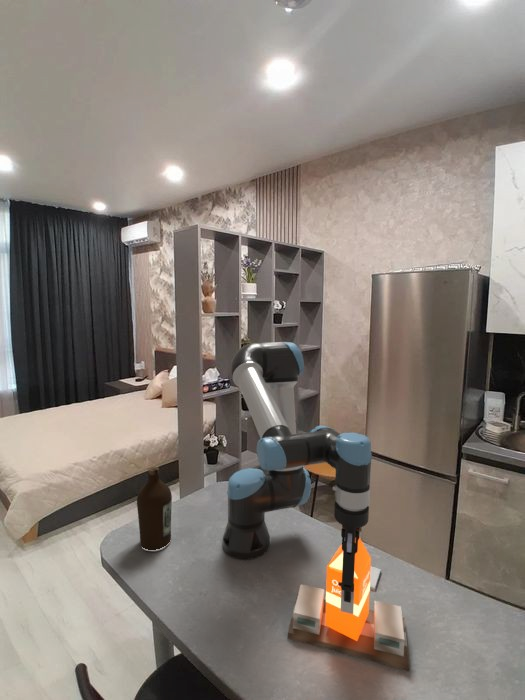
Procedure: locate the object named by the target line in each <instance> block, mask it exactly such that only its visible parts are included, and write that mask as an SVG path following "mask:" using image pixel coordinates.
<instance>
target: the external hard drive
mask: <svg viewBox="0 0 525 700" xmlns="http://www.w3.org/2000/svg"><path fill="white" fill-rule="evenodd" d="M381 573H382V569H381V568H377V567H375V566H372V565H371V570H370V591H373V592H376V589H377V587H378V586H377V585H378V582H379V579H380V575H381Z"/></svg>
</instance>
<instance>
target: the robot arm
mask: <svg viewBox="0 0 525 700" xmlns="http://www.w3.org/2000/svg"><path fill="white" fill-rule="evenodd" d="M304 361H305V360H304V357H303V353H302V351H301V349H300V348H299V346H298V345H297V344H296V343H294V342H291V341H290V342H289V341H288V342H287V341H279V342H251V343H248V344H245V345H244V346H242V347H241V348H239V349H238V350H237V351H236V352H235V355H234V356H233V358H232V360H231V363H230V376H231V379H232V381H233V383H234V385H236V386H237V387H238V388H239V389H240V392H241V393H242V397H243V399H244V402H245V404H246V407H247V408H248V409H247V410H248V411H249V413H250V416H251V419H252V421H253V423H254V426H255V428H256V430H257V433H258V436H259V438H260V439H258V441H257V444H256V456H257V460H258V464H259V466H260V468H261V469H260V468H256V467H255V468H253V467H249V468H243V469H240V470H237V471H236V472H234V473H233V474H232V475H231V476H230V477H229V479H228V483H227V491H226V494H227V495H226V496H227V523H226V527H225V529H224V533H223V536H222V549H223V548H224V549H223V550H225V551H224V552H225V553H226V554H227V555H228V556H230V557H232V558H234V559H238V560H254V559H257V558H259V557H262V556H263V555H264V554H266V553H267V551H269V549H270V546H271V545H270V544H271V535H270V532H269V530H268V527H267V523H266V521H265V520H266V519H265V513H269V512H275V511H279V510H280V511H281V510H284V509H285V510H287V509H291V508H297V507H299V506H302V505H305V504H306V503H307V502H308V500H309V499H310V497H311V491H312V482H311V478H310V474H309V473H310V472H309V471H308V469H306V467H305V466H311V465H317V464H324V463H326V464H328V465H330V467H332V468H333V469H334V470H335V480H334V481H335V482H334V483H335V485H334V486H332V491H334V497H335V498H334V501H335V502H334V508H333V509H334V513H333V515H334V516H333V517H334V519H335V520H336V522H337V523H339V524H340V525H341V531H340V533H341V534H340V535H341V545H342V550H343V567H342V582H339V583H338V586H341V611H342V612H346V613H350V614H353V609H354V567H355V553H357V551H358V540H359V537H360V534H361V533H360V529H361V528H362V527H364V526H366V525H367V524H368V522H369V518H370V517H369V514H370V507H369V506H370V499H371V498H370V496H371V486H370V485H371V471H372V470H371V469H372V459H373V456H372V442H371V440H370V438H369V437H367V435H365V434H361V433H360V434H359V433H358V432H343V433H339V432H338V430H335V429H334V428H331V427H328V426H327V425H317V426H315V427H314V428H313V429H311V430H310V431H309V432H304V433H302V432H301V433H297V423H296V419H297V418H296V403H295V390H294V389H295V386H296V385H297V383H298V381H299V379H298V378H299V377H300V376H301V375H302V374H303V372H304V369H305V368H304V367H305V365H304ZM263 470H264V471H267V472H264V471H263ZM355 538H356V543H355Z"/></svg>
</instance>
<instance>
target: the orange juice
mask: <svg viewBox="0 0 525 700" xmlns="http://www.w3.org/2000/svg"><path fill="white" fill-rule="evenodd" d="M355 543H356V538H355ZM371 566H372V556H370V553H369V552H368V550H367V548H366V547H365V544H364V543H363V541H362V540H361V537H360V536H359V540H358V551H357V553H355V567H354V609H353V614H350V613H346V612H342V611H341V586H338V583H339V582H342V567H343V550H342V544H341V545H340V546H339V547H338V548H337V551H335V553H334V555H333V556H332V558H331V560H330V561H329V563H328V564H327V566H326V582H325V583H326V590H325V600H326V617H325V625H326V626H328V627H330V628H332V629H334V630H336V631H338V632H340V633H342V634H344V635H346V636H348V637H350V638H352V639H354V640H356V641H357V640H358V638H359V636H360V633H361V631H362V628H363V626H364V623H365V621H366V618H367V616H368V613H369V610H370V593H371V592H370V591H371V590H370V570H371Z"/></svg>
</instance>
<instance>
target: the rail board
mask: <svg viewBox="0 0 525 700" xmlns="http://www.w3.org/2000/svg"><path fill="white" fill-rule="evenodd" d="M295 598H296V599H295V602H294V607H293V610H292V615H291V619H290V623H289V625H288V631H287V639H288V640H292V641H294V642H295V641H296V642H300V643H303V644H307V645H311V646H315V647H318V648H322V649H326V650H330V651H332V652H333V651H334V652H337V653H340V654H345V655H347V656H352V657H356V658H359V659H363V660H366V661H367V660H368V661H370V662H375V663H379V664H382V665H385V666H389V667H393V668H397V669H401V670H405V671H410V658H409V657H410V656H409V650H408V641H407V631H406V624H405V622H406V621H405V617H403V613H402V606H401V605H396V604H392V603H386V602H382V601H377V600H374V607H373V610H372V609H369V613H368V616H367V618H366V621H365V623H364V626H363V628H362V631H361V633H360V636H359V638H358V640H357V641H356V640H354V639H352V638H350V637H348V636H346V635H344V634H342V633H340V632H338V631H336V630H334V629H332V628H330V627H328V626H326V625H325V617H326V598H325V589H323V588H319V587H316V586H315V587H314V586H311V585H305V584H300V586H299V589H298V593H297V595H296V597H295Z"/></svg>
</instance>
